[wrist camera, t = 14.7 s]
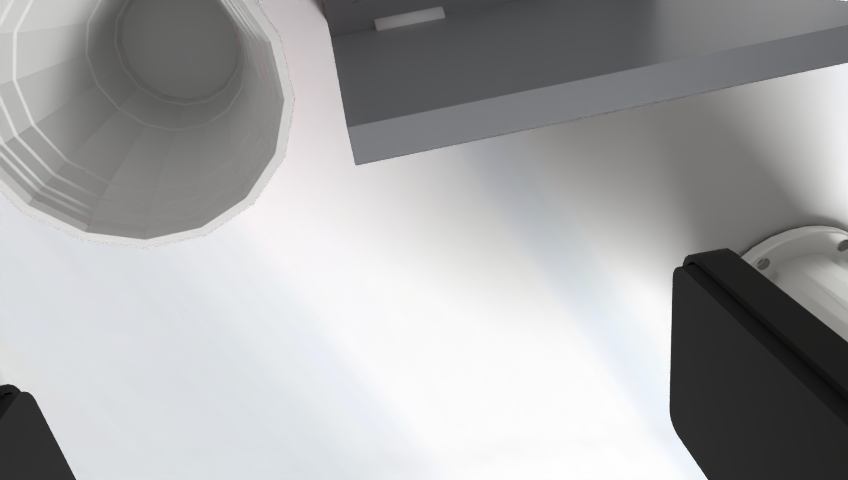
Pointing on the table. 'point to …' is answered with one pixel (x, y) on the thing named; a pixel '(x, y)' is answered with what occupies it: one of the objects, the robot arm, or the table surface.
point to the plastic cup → (139, 114)
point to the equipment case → (554, 60)
